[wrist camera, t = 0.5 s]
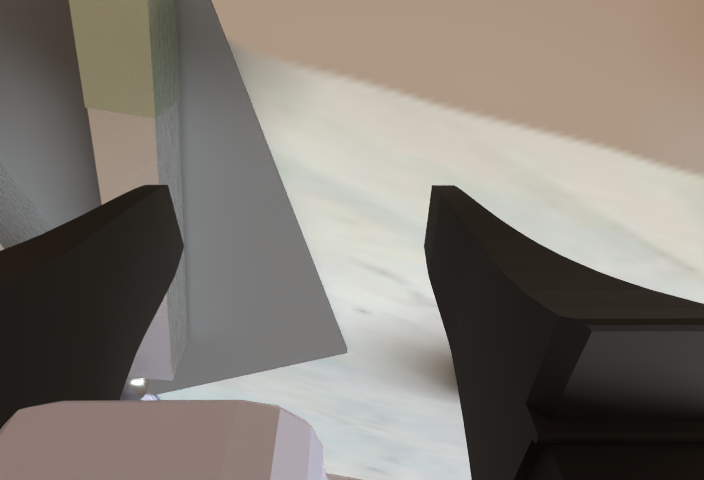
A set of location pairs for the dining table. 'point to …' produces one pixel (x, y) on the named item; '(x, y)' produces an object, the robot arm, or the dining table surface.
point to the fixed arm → (17, 214)
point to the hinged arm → (137, 139)
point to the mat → (197, 191)
